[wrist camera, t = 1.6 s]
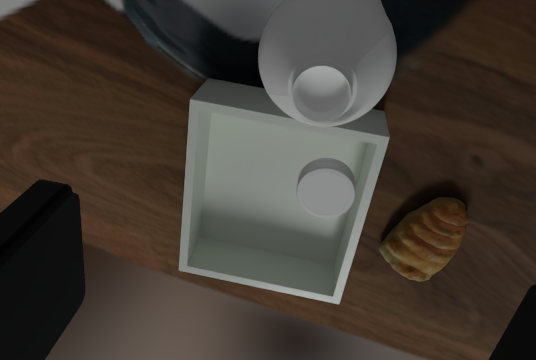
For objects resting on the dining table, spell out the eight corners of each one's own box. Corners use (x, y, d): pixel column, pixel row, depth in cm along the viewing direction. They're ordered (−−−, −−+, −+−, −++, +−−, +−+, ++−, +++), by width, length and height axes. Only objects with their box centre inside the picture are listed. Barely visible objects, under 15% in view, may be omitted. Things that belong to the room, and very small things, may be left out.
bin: (384, 111, 43) (389, 137, 38) (339, 266, 53) (339, 304, 47) (208, 77, 44) (190, 99, 39) (194, 236, 53) (178, 270, 48)
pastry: (426, 179, 46) (432, 199, 43) (483, 209, 47) (494, 231, 44) (373, 245, 51) (376, 268, 48) (427, 271, 52) (433, 296, 48)
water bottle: (292, -41, 38) (224, 11, 17) (374, -49, 37) (415, -4, 16) (299, 65, 42) (252, 219, 21) (373, 61, 41) (405, 218, 20)
